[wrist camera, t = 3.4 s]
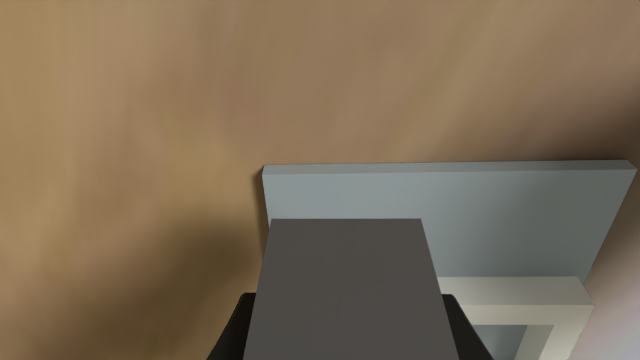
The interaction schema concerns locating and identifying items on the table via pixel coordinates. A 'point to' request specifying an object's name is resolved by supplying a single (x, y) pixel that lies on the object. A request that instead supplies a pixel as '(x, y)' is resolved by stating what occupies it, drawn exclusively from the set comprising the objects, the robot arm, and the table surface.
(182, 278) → the table surface
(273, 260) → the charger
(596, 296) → the table surface
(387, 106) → the table surface
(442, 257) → the outlet plate
